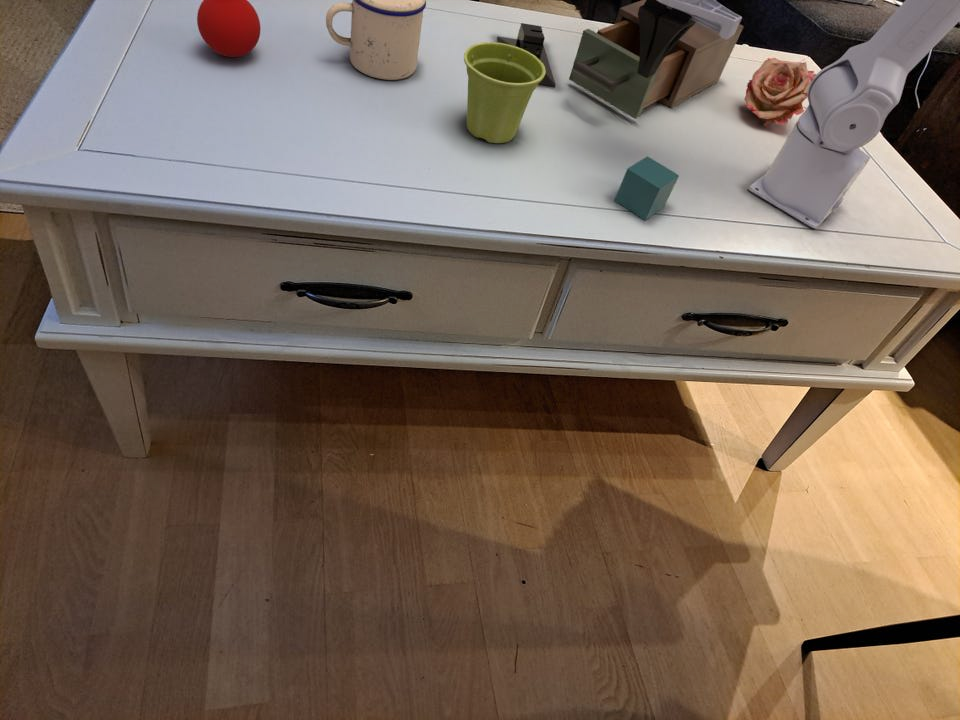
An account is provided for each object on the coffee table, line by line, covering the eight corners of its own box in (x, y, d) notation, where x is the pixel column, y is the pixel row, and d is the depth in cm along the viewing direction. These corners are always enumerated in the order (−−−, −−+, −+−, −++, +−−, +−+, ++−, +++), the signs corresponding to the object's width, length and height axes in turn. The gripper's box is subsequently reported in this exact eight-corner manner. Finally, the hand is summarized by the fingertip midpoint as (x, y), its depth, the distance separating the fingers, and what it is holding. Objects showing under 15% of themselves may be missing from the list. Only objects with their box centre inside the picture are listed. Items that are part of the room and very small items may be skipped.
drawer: (616, 129, 88) (635, 79, 83) (548, 88, 92) (562, 37, 87) (684, 92, 99) (704, 46, 94) (620, 56, 103) (637, 10, 98)
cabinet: (670, 108, 97) (696, 48, 91) (600, 67, 101) (619, 7, 95) (717, 82, 105) (744, 26, 99) (650, 45, 110) (671, -11, 103)
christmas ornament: (210, 70, 81) (200, -19, 74) (193, 41, 85) (182, -47, 77) (269, 66, 84) (266, -20, 77) (251, 38, 88) (246, -47, 80)
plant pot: (472, 156, 80) (486, 86, 73) (440, 111, 85) (451, 42, 78) (540, 148, 84) (560, 81, 77) (506, 106, 89) (522, 40, 82)
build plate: (555, 89, 95) (564, 56, 91) (503, 82, 93) (511, 48, 90) (542, 45, 102) (551, 13, 99) (494, 37, 101) (501, 5, 97)
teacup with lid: (409, 48, 94) (419, -44, 85) (425, 83, 89) (437, -11, 80) (320, 44, 90) (321, -53, 81) (330, 80, 85) (333, -19, 76)
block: (664, 206, 81) (679, 175, 77) (645, 220, 78) (659, 188, 75) (634, 187, 82) (647, 155, 79) (614, 200, 80) (627, 168, 76)
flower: (758, 81, 104) (762, 43, 97) (820, 95, 101) (829, 58, 93) (731, 134, 103) (732, 100, 96) (792, 150, 100) (799, 117, 92)
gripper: (775, -35, 69) (715, 92, 79) (653, -89, 73) (611, 37, 83) (748, -22, 65) (688, 110, 75) (620, -80, 69) (580, 52, 79)
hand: (645, 73), depth 79 cm, fingers closed
